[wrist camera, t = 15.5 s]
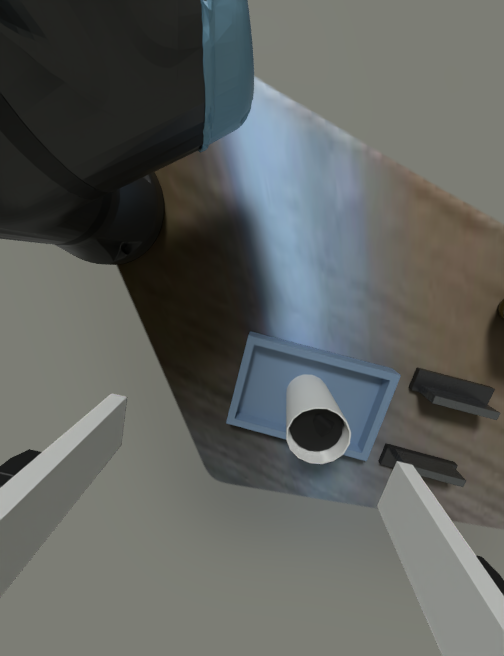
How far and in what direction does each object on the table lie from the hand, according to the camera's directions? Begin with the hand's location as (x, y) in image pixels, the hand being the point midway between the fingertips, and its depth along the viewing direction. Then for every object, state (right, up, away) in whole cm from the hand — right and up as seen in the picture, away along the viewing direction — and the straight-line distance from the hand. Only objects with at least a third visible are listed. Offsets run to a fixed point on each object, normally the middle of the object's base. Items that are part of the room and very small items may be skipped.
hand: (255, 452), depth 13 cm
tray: (+8, -3, +26) cm, 27 cm away
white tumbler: (+7, -3, +25) cm, 27 cm away
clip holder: (+25, -8, +25) cm, 36 cm away
